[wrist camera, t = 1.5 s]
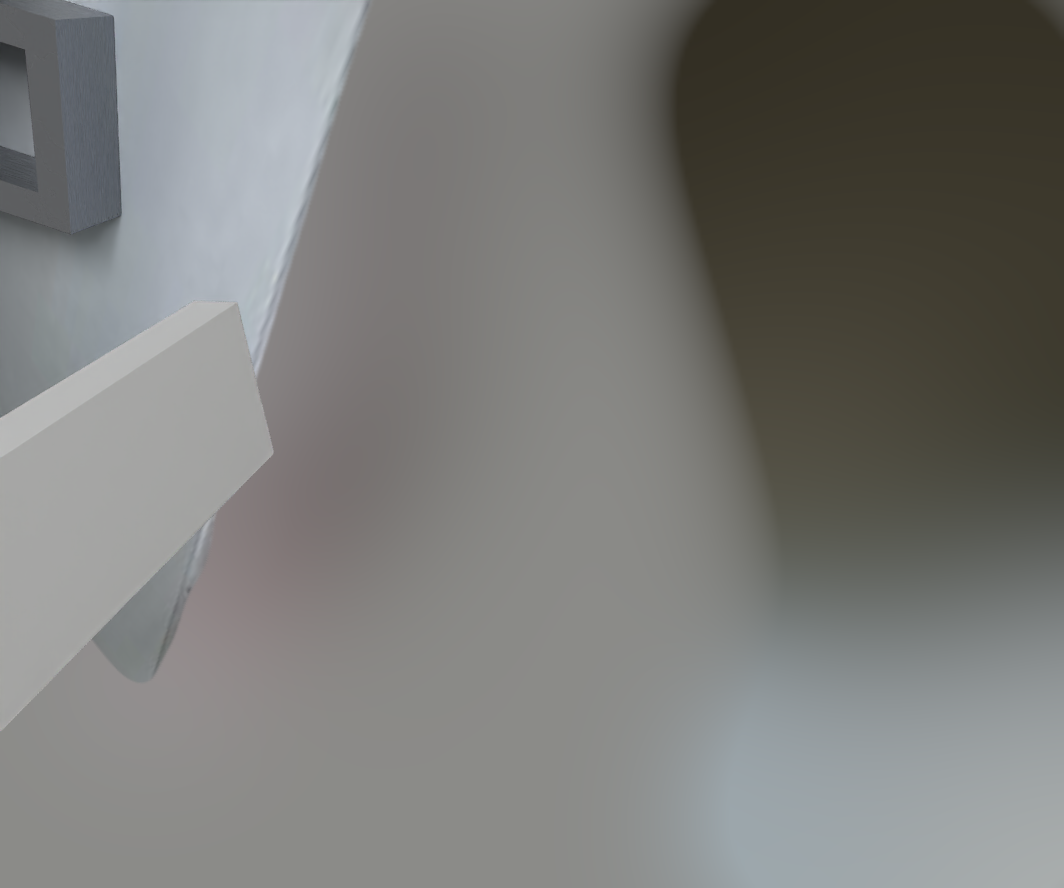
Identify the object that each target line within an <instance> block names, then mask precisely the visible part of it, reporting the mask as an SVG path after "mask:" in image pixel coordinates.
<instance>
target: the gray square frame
mask: <svg viewBox="0 0 1064 888" xmlns="http://www.w3.org/2000/svg"><path fill="white" fill-rule="evenodd" d="M0 42H3V43H6V44H9V45H12V46H15V47H18V48H22V49H25V56H26V66H27V77H28V87H29V98H30V108H31V119H32V129H33V140H34V150H35V157H32V156H29V155H26V154H23V153H20V152H16V151H13V150H10V149H7V148H4V147H1V146H0V211H2V212H5V213H8V214H11V215H14V216H17V217H20V218H23V219H26V220H29V221H32V222H35V223H38V224H41V225H44V226H47V227H50V228H53V229H56V230H59V231H62V232H65V233H68V234H74V233H76V232H79V231H81V230H84V229H86V228H89V227H92V226H94V225H97V224H99V223H102V222H105V221H107V220H110V219H112V218H115V217H118V216H120V215H121V197H120V172H119V147H118V122H117V97H116V72H115V47H114V22H113V16H112V15H109V14H106V13H103V12H99V11H96V10H93V9H90V8H87V7H83V6H80V5H77V4H74V3H70V2H67V1H64V0H0Z"/></svg>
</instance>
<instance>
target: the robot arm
mask: <svg viewBox="0 0 1064 888" xmlns="http://www.w3.org/2000/svg"><path fill="white" fill-rule="evenodd" d="M273 454H274V451H273V447H272V443H271V438H270V435H269V431H268V426H267V422H266V418H265V414H264V410H263V406H262V402H261V398H260V394H259V390H258V386H257V381H256V377H255V373H254V369H253V365H252V361H251V357H250V353H249V349H248V345H247V341H246V337H245V333H244V329H243V324H242V320H241V316H240V312H239V308H238V304H237V302H217V301H193V302H191V303H189V304H188V305H186V306H184V307H183V308H181V309H179V310H178V311H176V312H175V313H173V314H171V315H170V316H168V317H166V318H165V319H163V320H161V321H160V322H158V323H156V324H155V325H153V326H151V327H150V328H148V329H146V330H145V331H143V332H141V333H140V334H138V335H137V336H135V337H133V338H132V339H130V340H128V341H127V342H125V343H123V344H122V345H120V346H118V347H117V348H115V349H113V350H112V351H110V352H108V353H107V354H105V355H103V356H102V357H100V358H99V359H97V360H95V361H94V362H92V363H90V364H89V365H87V366H85V367H84V368H82V369H80V370H79V371H77V372H75V373H74V374H72V375H70V376H69V377H67V378H65V379H64V380H62V381H61V382H59V383H57V384H56V385H54V386H52V387H51V388H49V389H47V390H46V391H44V392H42V393H41V394H39V395H37V396H36V397H34V398H32V399H31V400H29V401H27V402H26V403H24V404H23V405H21V406H19V407H18V408H16V409H14V410H13V411H11V412H9V413H8V414H6V415H4V416H3V417H1V418H0V731H1V730H2V729H4V728H5V726H6V725H7V724H8V723H9V722H10V721H11V720H12V719H13V718H14V717H15V716H16V715H17V714H18V713H19V712H20V711H21V710H22V709H23V708H24V707H25V706H26V705H27V704H28V703H29V702H30V701H31V700H32V699H33V698H34V697H35V696H36V695H37V694H38V693H39V692H40V691H41V690H42V689H43V688H44V687H45V686H46V685H47V684H48V683H49V682H50V681H51V680H52V679H53V678H54V677H55V676H56V675H57V674H58V673H59V672H60V671H61V670H62V669H63V667H64V666H65V665H66V664H67V663H68V662H69V661H70V660H71V659H72V658H73V657H74V656H75V655H76V654H77V653H78V652H79V651H80V650H81V649H82V648H83V647H84V646H85V645H86V644H87V643H88V642H89V641H90V640H91V639H92V638H93V637H94V636H95V635H96V634H97V633H98V632H99V631H100V630H101V629H102V628H103V627H104V626H105V625H106V624H107V623H108V622H109V621H110V620H111V619H112V618H113V617H114V616H115V615H116V614H117V613H118V612H119V611H120V610H121V609H122V608H123V606H124V605H125V604H126V603H127V602H128V601H129V600H130V599H131V598H132V597H133V596H134V595H135V594H136V593H137V592H138V591H139V590H140V589H141V588H142V587H143V586H144V585H145V584H146V583H147V582H148V581H149V580H150V579H151V578H152V577H153V576H154V575H155V574H156V573H157V572H158V571H159V570H160V569H161V568H162V567H163V566H164V565H165V564H166V563H167V562H168V561H169V560H170V559H171V558H172V557H173V556H174V555H175V554H176V553H177V552H178V551H179V550H180V549H181V548H182V546H183V545H184V544H185V543H186V542H187V541H188V540H189V539H190V538H191V537H192V536H193V535H194V534H195V533H196V532H197V531H198V530H199V529H200V528H201V527H202V526H203V525H204V524H205V523H206V522H207V521H208V520H209V519H210V518H211V517H212V516H213V515H214V514H215V513H216V512H217V511H218V510H219V509H220V508H221V507H222V506H223V505H224V504H225V503H226V502H227V501H228V500H229V499H230V498H231V497H232V496H233V495H234V493H236V492H237V491H238V489H240V487H241V486H242V485H243V484H244V483H245V482H246V481H247V480H248V479H249V478H250V477H251V476H252V475H253V474H254V473H255V472H256V471H257V470H258V469H259V468H260V467H261V466H262V465H263V464H264V463H265V462H266V461H267V460H268V459H269V458H270V457H271V456H272V455H273Z"/></svg>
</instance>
